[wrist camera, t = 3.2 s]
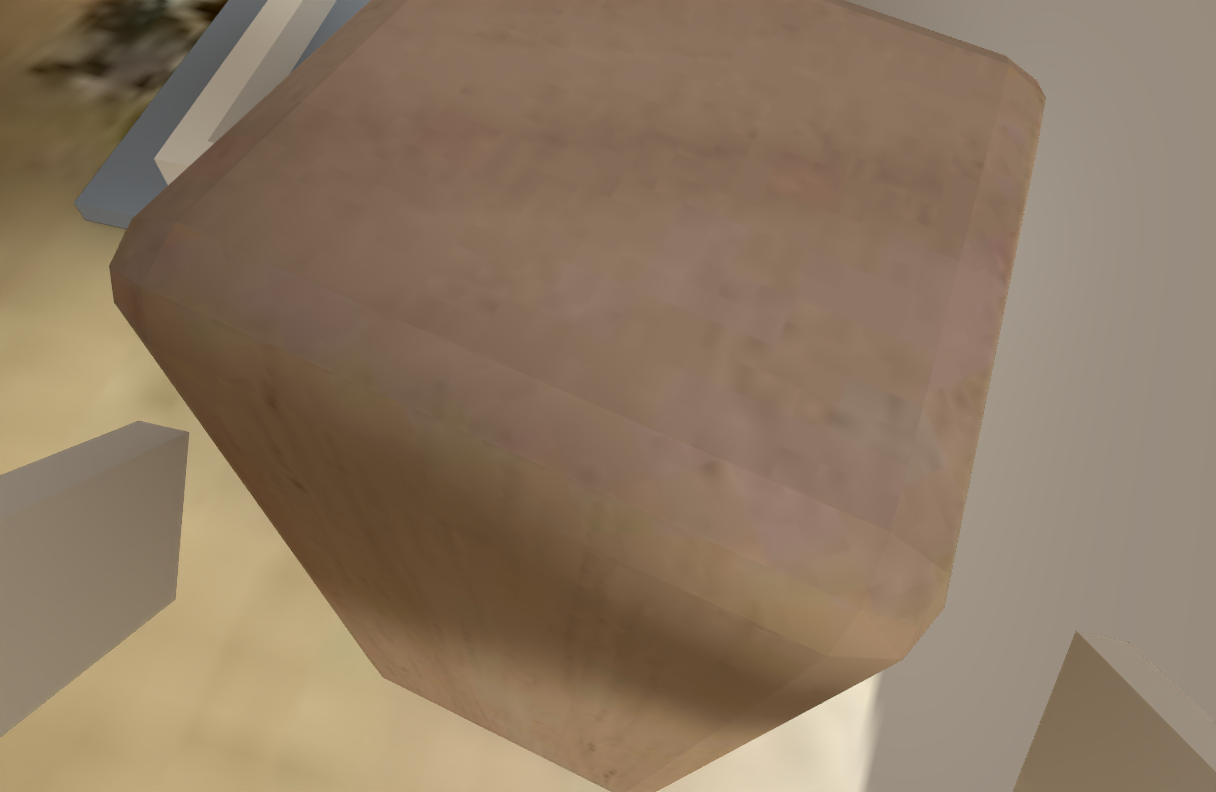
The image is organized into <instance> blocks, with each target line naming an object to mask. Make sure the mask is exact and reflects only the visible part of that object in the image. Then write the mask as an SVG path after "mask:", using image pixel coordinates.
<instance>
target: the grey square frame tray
mask: <svg viewBox="0 0 1216 792" xmlns="http://www.w3.org/2000/svg"><path fill="white" fill-rule="evenodd" d="M369 1H370V0H229V1H228V2H227V3H226V4H225V6H224V7H223V8H222V10H221V11H220V12H219V14H218V15H217V16H216V18H215V19H214V20H213V22H212V23H211V24H210V25H209V27H208V28H207V29H206V31H205V32H204V33H203V35H202V36H201V37H200V39H199V40H198V41H197V42H196V44H195V45H194V46H193V48H192V49H191V50H190V52H189V53H188V54H187V56H186V57H185V58H184V59H183V61H182V62H181V63H180V65H179V66H178V67H177V69H176V70H175V71H174V73H173V74H172V75H171V76H170V78H169V79H168V80H167V82H166V83H165V84H164V86H163V87H162V88H161V90H160V91H159V92H158V93H157V95H156V96H155V97H154V99H153V100H152V101H151V103H150V104H149V105H148V107H147V108H146V109H145V110H144V112H143V113H142V114H141V116H140V117H139V118H138V120H137V121H136V122H135V124H134V125H133V126H132V127H131V129H130V130H129V131H128V133H127V134H126V135H125V137H124V138H123V139H122V141H121V142H120V143H119V144H118V146H117V147H116V148H115V150H114V151H113V152H112V154H111V155H110V156H109V158H108V159H107V160H106V161H105V163H104V164H103V165H102V167H101V168H100V169H99V171H98V172H97V173H96V175H95V176H94V177H93V179H92V180H91V181H90V182H89V184H88V185H87V186H86V188H85V189H84V190H83V192H82V193H81V194H80V196H79V197H78V198H77V199H76V201H75V202H74V204H75V206H76V207H77V209H78V210H79V211H80V213H81V214H82V216H83V217H84V219H85V220H88V221H93V222H97V223H102V224H107V225H111V226H116V227H121V228H125V229H127V228H128V226H129V224H130V222H131V220H132V218H133V217H134V216H135V215H136V214H138V213H139V212H140V211H141V210H142V209H143V208H144V207H145V206H146V205H147V204H149V203H150V202H151V201H152V200H153V199H154V198H155V197H156V196H157V195H158V194H159V193H161V192H162V191H163V190H164V189H165V188H166V187H167V186H168V185H169V184H170V183H171V182H173V181H174V180H175V179H176V178H177V177H178V176H179V175H180V174H181V173H182V172H183V171H185V170H186V169H187V168H188V167H189V166H190V165H191V164H192V163H193V162H194V161H195V160H197V159H198V158H199V157H200V156H201V155H202V154H203V153H204V152H205V151H206V150H207V149H209V148H210V147H211V146H212V145H213V144H214V143H215V142H216V141H217V140H218V139H219V138H221V137H222V136H223V135H224V134H225V133H226V132H227V131H228V130H229V129H230V128H231V127H233V126H234V125H235V124H236V123H237V122H238V121H239V120H240V119H241V118H242V117H244V116H245V115H246V114H247V113H248V112H249V111H250V110H251V109H252V108H253V107H254V106H256V105H257V104H258V103H259V102H260V101H261V100H262V99H263V98H264V97H265V96H266V95H268V94H269V93H270V92H271V91H272V90H273V89H274V88H275V87H276V86H277V85H278V84H280V83H281V82H282V81H283V80H284V79H285V78H286V77H287V76H288V75H289V74H290V73H292V72H293V71H294V70H295V69H296V68H297V67H298V66H299V65H300V64H301V63H302V62H304V61H305V60H306V59H307V58H308V57H309V56H310V55H311V54H312V53H313V52H314V51H316V50H317V49H318V48H319V47H320V46H321V45H322V44H323V43H324V42H325V41H327V40H328V39H329V38H330V37H331V36H332V35H333V34H334V33H335V32H336V31H337V30H339V29H340V28H341V27H342V26H343V25H344V24H345V23H346V22H347V21H348V20H349V19H351V18H352V17H353V16H354V15H355V14H356V13H357V12H358V11H359V10H360V9H361V8H363V7H364V6H365V5H366V4H367V3H368V2H369Z"/></svg>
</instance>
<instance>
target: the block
mask: <svg viewBox="0 0 1216 792" xmlns="http://www.w3.org/2000/svg"><path fill="white" fill-rule="evenodd" d="M1045 100H1046V97H1045V95H1044V93H1043V92H1042V90H1041V88H1040V86H1039V84H1038V82H1037V81H1036V80H1035V79H1034V78H1033V77H1032V76H1030V75H1029V74H1028V73H1027V72H1025V71H1024V70H1023V69H1022V68H1020V67H1019V66H1018V65H1017V64H1015V63H1014V62H1013V61H1011V60H1010V59H1009V58H1008V57H1006V56H1004V55H1001V54H998V53H995V52H993V51H990V50H987V49H984V48H981V47H978V46H975V45H972V44H969V43H967V42H963V41H961V40H957V39H955V38H952V37H949V36H946V35H943V34H940V33H937V32H934V31H931V30H929V29H926V28H923V27H920V26H917V25H914V24H911V23H908V22H905V21H902V20H899V19H896V18H894V17H891V16H888V15H885V14H882V13H879V12H876V11H873V10H870V9H867V8H864V7H862V6H859V5H856V4H853V3H850V2H847V1H844V0H370V1H369V2H368V3H367V4H366V5H365V6H364V7H363V8H361V9H360V10H359V11H358V12H357V13H356V14H355V15H354V16H353V17H352V18H351V19H349V20H348V21H347V22H346V23H345V24H344V25H343V26H342V27H341V28H340V29H339V30H337V31H336V32H335V33H334V34H333V35H332V36H331V37H330V38H329V39H328V40H327V41H325V42H324V43H323V44H322V45H321V46H320V47H319V48H318V49H317V50H316V51H314V52H313V53H312V54H311V55H310V56H309V57H308V58H307V59H306V60H305V61H304V62H302V63H301V64H300V65H299V66H298V67H297V68H296V69H295V70H294V71H293V72H292V73H290V74H289V75H288V76H287V77H286V78H285V79H284V80H283V81H282V82H281V83H280V84H278V85H277V86H276V87H275V88H274V89H273V90H272V91H271V92H270V93H269V94H268V95H266V96H265V97H264V98H263V99H262V100H261V101H260V102H259V103H258V104H257V105H256V106H254V107H253V108H252V109H251V110H250V111H249V112H248V113H247V114H246V115H245V116H244V117H242V118H241V119H240V120H239V121H238V122H237V123H236V124H235V125H234V126H233V127H231V128H230V129H229V130H228V131H227V132H226V133H225V134H224V135H223V136H222V137H221V138H219V139H218V140H217V141H216V142H215V143H214V144H213V145H212V146H211V147H210V148H209V149H207V150H206V151H205V152H204V153H203V154H202V155H201V156H200V157H199V158H198V159H197V160H195V161H194V162H193V163H192V164H191V165H190V166H189V167H188V168H187V169H186V170H185V171H183V172H182V173H181V174H180V175H179V176H178V177H177V178H176V179H175V180H174V181H173V182H171V183H170V184H169V185H168V186H167V187H166V188H165V189H164V190H163V191H162V192H161V193H159V194H158V195H157V196H156V197H155V198H154V199H153V200H152V201H151V202H150V203H149V204H147V205H146V206H145V207H144V208H143V209H142V210H141V211H140V212H139V213H138V214H136V215H135V216H134V217H133V218H132V220H131V222H130V224H129V226H128V228H127V230H126V232H125V234H124V236H123V238H122V240H121V242H120V245H119V247H118V249H117V251H116V253H115V255H114V257H113V259H112V261H111V263H110V265H109V267H110V275H111V282H112V290H113V298H114V303H115V304H116V306H117V307H118V308H119V310H120V311H121V313H122V314H123V315H124V317H125V318H126V320H127V321H128V322H129V324H130V325H131V327H132V328H133V329H134V331H135V332H136V334H137V335H138V336H139V338H140V339H141V341H142V342H143V343H144V345H145V346H146V348H147V349H148V350H149V352H150V353H151V355H152V356H153V357H154V359H155V360H156V362H157V363H158V364H159V366H160V367H161V369H162V370H163V371H164V373H165V374H166V376H167V377H168V378H169V380H170V381H171V383H172V384H173V385H174V387H175V388H176V390H177V391H178V392H179V394H180V395H181V397H182V398H183V400H184V401H185V402H186V404H187V405H188V407H189V408H190V409H191V411H192V412H193V414H194V415H195V416H196V418H197V419H198V421H199V422H200V423H201V425H202V426H203V428H204V429H205V430H206V432H207V433H208V435H209V436H210V437H211V439H212V440H213V442H214V443H215V444H216V446H217V447H218V449H219V450H220V451H221V453H222V454H223V456H224V457H225V458H226V460H227V461H228V463H229V464H230V465H231V467H232V468H233V470H234V471H235V472H236V474H237V475H238V477H239V478H240V479H241V481H242V482H243V484H244V485H245V486H246V488H247V489H248V491H249V492H250V493H251V495H252V496H253V498H254V499H255V500H256V502H257V503H258V505H259V506H260V507H261V509H262V510H263V512H264V513H265V514H266V516H267V517H268V519H269V520H270V521H271V523H272V524H273V526H274V527H275V528H276V530H277V531H278V533H279V534H280V535H281V537H282V538H283V540H284V541H285V542H286V544H287V545H288V547H289V548H290V549H291V551H292V552H293V554H294V555H295V556H296V558H297V559H298V561H299V562H300V563H301V565H302V566H303V568H304V569H305V570H306V572H307V573H308V575H309V576H310V577H311V579H312V580H313V582H314V583H315V584H316V586H317V587H318V589H319V590H320V591H321V593H322V594H323V596H324V597H325V598H326V600H327V601H328V603H329V604H330V605H331V607H332V608H333V610H334V611H335V612H336V614H337V615H338V617H339V618H340V619H341V621H342V622H343V624H344V625H345V626H346V628H347V629H348V631H349V632H350V633H351V635H352V636H353V638H354V639H355V640H356V642H357V643H358V645H359V646H360V647H361V649H362V650H363V652H364V653H365V654H366V656H367V657H368V659H369V660H370V661H371V662H372V664H373V665H374V666H375V668H376V669H377V670H378V671H379V673H380V674H381V675H382V676H383V677H384V678H386V679H388V680H390V681H392V682H394V683H396V684H398V685H400V686H402V687H404V688H406V689H408V690H409V691H411V692H413V693H415V694H417V695H419V696H421V697H423V698H425V699H427V700H429V701H431V702H433V703H435V704H437V705H439V706H441V707H443V708H445V709H447V710H449V711H451V712H453V713H455V714H457V715H459V716H461V717H463V718H465V719H467V720H469V721H471V722H473V723H475V724H477V725H479V726H481V727H483V728H485V729H487V730H489V731H491V732H493V733H495V734H497V735H499V736H501V737H503V738H505V739H507V740H509V741H511V742H513V743H515V744H517V745H519V746H521V747H523V748H525V749H527V750H529V751H531V752H533V753H535V754H537V755H539V756H541V757H543V758H545V759H547V760H549V761H551V762H553V763H555V764H557V765H559V766H561V767H563V768H565V769H567V770H569V771H571V772H573V773H575V774H577V775H579V776H581V777H583V778H585V779H587V780H589V781H591V782H593V783H595V784H597V785H599V786H601V787H603V788H605V789H607V790H609V791H611V792H656V791H658V790H660V789H662V788H664V787H666V786H667V785H669V784H671V783H673V782H675V781H677V780H679V779H681V778H682V777H684V776H686V775H688V774H690V773H692V772H694V771H695V770H697V769H699V768H701V767H703V766H705V765H707V764H709V763H710V762H712V761H714V760H716V759H718V758H720V757H722V756H724V755H725V754H727V753H729V752H731V751H733V750H735V749H737V748H738V747H740V746H742V745H744V744H746V743H748V742H750V741H752V740H753V739H755V738H757V737H759V736H761V735H763V734H765V733H767V732H768V731H770V730H772V729H774V728H776V727H778V726H780V725H781V724H783V723H785V722H787V721H789V720H791V719H793V718H795V717H796V716H798V715H800V714H802V713H804V712H806V711H808V710H810V709H811V708H813V707H815V706H817V705H819V704H821V703H823V702H824V701H826V700H828V699H830V698H832V697H834V696H836V695H838V694H839V693H841V692H843V691H845V690H847V689H849V688H851V687H852V686H854V685H856V684H858V683H860V682H862V681H864V680H866V679H867V678H869V677H871V676H873V675H875V674H877V673H879V672H881V671H882V670H884V669H886V668H888V667H890V666H892V665H894V664H895V663H897V662H899V661H901V660H903V658H904V657H905V656H906V655H907V654H908V652H909V651H910V650H911V649H912V647H913V646H914V645H915V644H916V642H917V641H918V640H919V638H920V637H921V636H922V635H923V634H924V633H925V631H926V630H927V629H928V628H929V626H930V625H931V624H932V623H933V621H934V620H935V619H936V617H937V616H938V615H939V614H940V613H941V611H942V610H943V609H944V606H945V602H946V597H947V592H948V587H949V582H950V577H951V572H952V567H953V562H954V557H955V552H956V547H957V542H958V537H959V532H960V527H961V522H962V518H963V512H964V508H965V502H966V498H967V492H968V488H969V483H970V478H971V473H972V468H973V463H974V458H975V452H976V448H977V443H978V438H979V433H980V428H981V423H982V418H983V413H984V408H985V403H986V398H987V393H988V389H989V383H990V378H991V374H992V368H993V364H994V359H995V354H996V349H997V344H998V339H999V334H1000V329H1001V324H1002V319H1003V314H1004V309H1005V304H1006V299H1007V294H1008V289H1009V284H1010V279H1011V275H1012V269H1013V265H1014V259H1015V255H1016V250H1017V244H1018V239H1019V235H1020V229H1021V225H1022V220H1023V215H1024V210H1025V205H1026V200H1027V195H1028V190H1029V185H1030V180H1031V175H1032V170H1033V165H1034V160H1035V155H1036V150H1037V146H1038V139H1039V134H1040V128H1041V123H1042V117H1043V111H1044V106H1045Z"/></svg>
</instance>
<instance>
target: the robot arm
mask: <svg viewBox="0 0 1216 792" xmlns="http://www.w3.org/2000/svg"><path fill="white" fill-rule="evenodd" d="M188 440H189V432H186V431H182V430H177V429H173V428H168V427H164V426H159V425H155V424H150V423H146V422H142V421H137V422H134V423H132V424H129V425H127V426H124V427H122V428H119V429H117V430H114V431H112V432H109V433H107V434H104V435H102V436H99V437H96V438H94V439H91V440H89V441H86V442H84V443H81V444H79V445H76V446H74V447H71V448H69V449H66V450H64V451H61V452H58V453H56V454H53V455H51V456H48V457H46V458H43V459H41V460H38V461H36V462H33V463H31V464H28V465H26V466H23V467H20V468H18V469H15V470H13V471H10V472H8V473H5V474H3V475H0V737H2V736H3V735H4V734H5V733H7V732H8V731H9V730H11V729H12V728H13V727H14V726H16V725H17V724H18V723H19V722H21V721H22V720H23V719H24V718H26V717H27V716H28V715H30V714H31V713H32V712H33V711H35V710H36V709H37V708H38V707H40V706H41V705H42V704H43V703H45V702H46V701H47V700H49V699H50V698H51V697H52V696H54V695H55V694H56V693H57V692H59V691H60V690H61V689H62V688H64V687H65V686H66V685H68V684H69V683H70V682H71V681H73V680H74V679H75V678H76V677H78V676H79V675H80V674H81V673H83V672H84V671H85V670H87V669H88V668H89V667H90V666H92V665H93V664H94V663H95V662H97V661H98V660H99V659H100V658H102V657H103V656H104V655H106V654H107V653H108V652H109V651H111V650H112V649H113V648H114V647H116V646H117V645H118V644H119V643H121V642H122V641H123V640H125V639H126V638H127V637H128V636H130V635H131V634H132V633H133V632H135V631H136V630H137V629H138V628H140V627H141V626H142V625H144V624H145V623H146V622H147V621H149V620H150V619H151V618H152V617H154V616H155V615H156V614H157V613H159V612H160V611H161V610H163V609H164V608H165V607H166V606H168V605H169V604H170V603H171V602H173V601H174V600H175V597H176V585H177V573H178V561H179V549H180V536H181V524H182V512H183V500H184V488H185V476H186V464H187V452H188ZM1013 791H1014V792H1216V722H1215V721H1214V720H1213V719H1211V718H1210V717H1209V716H1208V715H1207V714H1206V713H1205V712H1204V711H1203V710H1202V709H1201V708H1200V707H1199V706H1197V705H1196V704H1195V703H1194V702H1193V701H1192V700H1191V699H1190V698H1189V697H1187V695H1186V694H1184V693H1183V692H1182V691H1181V690H1180V689H1179V688H1178V687H1177V686H1176V685H1175V684H1174V683H1173V682H1171V681H1170V680H1169V679H1168V678H1167V677H1166V676H1165V675H1164V674H1163V673H1162V672H1161V671H1159V670H1158V669H1157V668H1156V667H1155V666H1154V665H1153V664H1152V663H1151V662H1150V661H1149V660H1148V659H1146V658H1145V657H1144V656H1143V655H1142V654H1141V653H1140V652H1139V651H1138V650H1137V649H1136V648H1135V647H1134V646H1132V645H1131V644H1130V643H1129V642H1125V641H1120V640H1116V639H1111V638H1106V637H1102V636H1098V635H1093V634H1089V633H1085V632H1080V631H1076V633H1075V635H1074V637H1073V640H1072V643H1071V645H1070V648H1069V650H1068V653H1067V655H1066V658H1065V660H1064V663H1063V665H1062V668H1061V670H1060V673H1059V676H1058V678H1057V681H1056V683H1055V686H1054V688H1053V691H1052V693H1051V696H1050V698H1049V701H1048V704H1047V706H1046V708H1045V711H1044V714H1043V716H1042V719H1041V721H1040V724H1039V726H1038V729H1037V731H1036V734H1035V736H1034V739H1033V742H1032V744H1031V747H1030V749H1029V752H1028V754H1027V757H1026V759H1025V762H1024V764H1023V767H1022V769H1021V772H1020V775H1019V777H1018V780H1017V782H1016V785H1015V787H1014V790H1013Z"/></svg>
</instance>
